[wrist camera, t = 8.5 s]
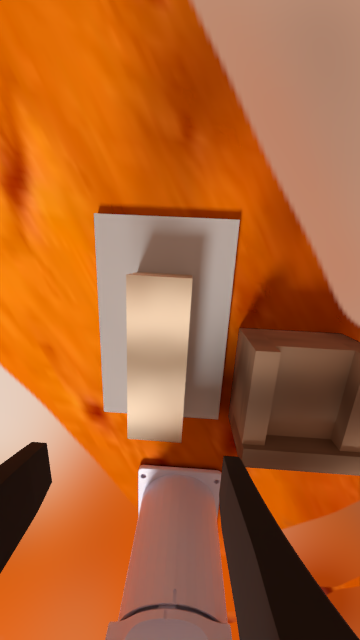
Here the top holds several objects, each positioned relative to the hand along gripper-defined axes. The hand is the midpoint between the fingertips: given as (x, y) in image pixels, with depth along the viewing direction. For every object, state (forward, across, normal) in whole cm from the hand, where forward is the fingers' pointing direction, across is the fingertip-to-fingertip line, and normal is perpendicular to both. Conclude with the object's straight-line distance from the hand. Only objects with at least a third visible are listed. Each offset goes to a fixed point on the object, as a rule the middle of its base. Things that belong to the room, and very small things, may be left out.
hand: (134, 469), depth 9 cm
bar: (+9, 0, -1) cm, 9 cm away
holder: (+10, -10, +1) cm, 14 cm away
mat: (+10, 0, -3) cm, 10 cm away
